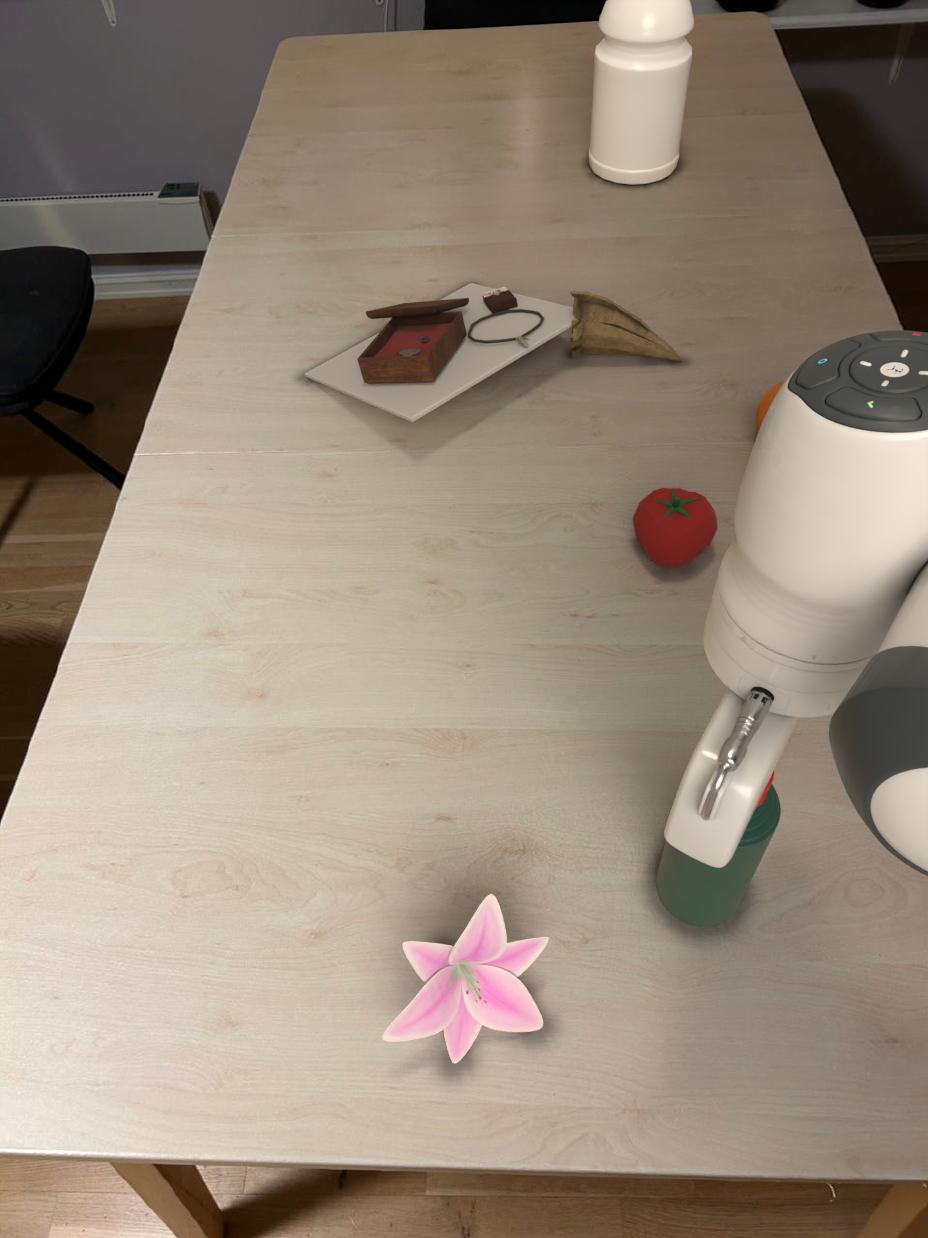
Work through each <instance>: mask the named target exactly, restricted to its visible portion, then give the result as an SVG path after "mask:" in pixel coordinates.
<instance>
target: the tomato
mask: <svg viewBox="0 0 928 1238" xmlns="http://www.w3.org/2000/svg"><path fill="white" fill-rule="evenodd" d="M632 524H633V529H634V536H635V537H636V539H637V541H638V542H639V544H640V546H641V547H642V548H643V550H644V552H645V553H646V554H647V556H648V557H649V559H650V561H652V562H653V563H655V564H657V565H659V566H661V567H670V568H679V567H682V566H686V565H688V564H689V563H691V562H692V561H694V560H695V559H697V557H698V556H699V555H700V554H701V553H703V552H704V551H705V550H707V548H708V547H710V545H711V543H712V542H713V540H714V538H715V535H716V533H717V531H718V518H717V513H716V510H715V508H714V506H713V505H712V503H711V502H710V501H709V499H708V498H707V497H706V496H705V495H704V494H701V493H699V492H697V491H688V490H686V489H684V488H681V487H662V488H661V487H660V488H658V489H654V490H652V491H651V492H650V493H648V494H647V495H646V496H645V497H644V498H643V499H642V500H641V501H639V503H638V506H637V508H636V509H635V512H634V514H633V517H632Z"/></svg>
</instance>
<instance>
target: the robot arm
mask: <svg viewBox="0 0 928 1238" xmlns="http://www.w3.org/2000/svg"><path fill="white" fill-rule="evenodd" d="M784 380H785V382H784V383H783V384H782V386H781V387H780V389H779V391H778V392H777V394H776V396H775V398H774V399H773V401H772V403H771V405H770V407H769V409H768V411H767V413H766V415H765V418H764V420H763V422H762V425H761V427H760V430H759V432H758V433H757V435H756V438H755V441H754V443H753V446H752V449H751V451H750V455H749V458H748V461H747V465H746V466H745V467H746V468H745V471H744V473H743V477H742V480H741V483H740V486H739V491H738V495H737V498H736V502H735V506H734V514H733V529H734V536H735V538H734V539H733V541H732V542H731V543H730V545H729V546H728V548H727V549H726V551H725V553H724V554H723V557H722V560H721V562H720V565H719V567H718V568H719V569H718V572H717V576H716V581H715V583H714V588H713V593H712V597H711V599H710V603H709V607H708V611H707V615H706V618H705V623H704V626H703V634H702V635H703V636H702V638H703V649H704V652H705V655H706V658H707V661H708V663H709V665H710V666H711V669H712V670H713V672H714V674H715V675H716V676H717V677H718V679H719V680H720V681H721V682H722V683H723V684H724V685H725V686H726V687H727V689H726V691H725V693H724V695H723V697H722V698H721V700H720V702H719V703H718V706H717V707H716V709H715V711H714V713H713V715H712V717H711V719H710V720H709V722H708V724H707V726H706V727H705V730H704V731H703V733H702V736H701V737H700V739H699V741H698V743H697V744H696V745H695V748H694V750H693V753H692V754H691V756H690V759H689V761H688V764H687V766H686V768H685V770H684V772H683V775H682V778H681V780H680V783H679V787H678V789H677V791H676V794H675V797H674V799H673V803H672V806H671V809H670V812H669V814H668V816H667V817H668V818H667V821H666V823H665V827H664V831H663V836H664V839H665V841H666V840H667V842H668V843H669V844H671V845H672V846H673V847H675V848H676V849H678V850H680V851H681V852H683V853H685V854H687V855H689V856H690V857H692V858H694V859H696V860H698V861H700V862H703V863H705V864H707V865H710V866H713V867H717V868H721V867H724V866H725V865H727V863H728V862H729V861H730V860H731V858H732V856H733V854H734V852H735V850H736V848H737V846H738V844H739V842H740V840H741V838H742V836H743V834H744V831H745V829H746V827H747V825H748V823H749V821H750V819H751V817H752V815H753V813H754V811H755V809H756V806H757V804H758V802H759V800H760V798H761V796H762V794H763V792H764V790H765V788H766V786H767V783H768V781H769V779H770V777H771V775H772V773H773V771H774V772H775V769H776V766H777V764H778V763H779V761H780V758H781V756H782V754H783V752H784V750H785V748H786V746H787V744H788V741H789V739H790V738H791V736H792V733H793V731H794V729H795V728H796V725H797V723H798V721H799V719H800V718H804V719H805V718H819V717H826V716H830V715H832V716H831V719H830V722H829V726H828V740H829V746H830V749H831V753H832V758H833V760H834V763H835V766H836V769H837V772H838V775H839V778H840V780H841V783H842V785H843V787H844V789H845V793H846V794H847V796H848V798H849V800H850V802H851V804H852V806H853V807H854V809H855V811H856V812H857V814H858V816H859V817H860V819H861V820H862V821H863V823H864V824H865V826H866V827H867V829H869V831H870V832H871V833H872V834H873V836H874V837H875V838H876V840H877V841H878V842H879V843H880V844H881V845H882V847H884V848H885V849H886V850H887V851H888V852H889V853H891V854H892V855H893V856H894V857H895V858H896V859H898V860H899V861H901V862H902V863H903V864H905V865H906V866H908V867H910V868H911V869H913V870H915V871H916V872H918V873H920V874H922V875H924V876H927V877H928V332H924V331H917V330H903V329H901V330H900V329H899V330H898V329H896V330H882V331H881V330H880V331H874V332H868V333H862V334H858V335H853V336H850V337H846V338H843V339H841V340H838V341H836V342H833V343H830V344H829V345H827V346H825V347H824V348H821V349H820V350H817V351H816V352H814V353H813V354H812V355H810V356H809V357H808V358H807V359H805V360H804V361H803V362H802V363H800V365H798V366H797V367H796V369H795V370H792V372H791V373H790V374H789V375H788V376H787V377H786V379H784Z"/></svg>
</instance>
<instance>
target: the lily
mask: <svg viewBox="0 0 928 1238" xmlns="http://www.w3.org/2000/svg"><path fill="white" fill-rule="evenodd" d="M549 940H550V938H549V937H548V936H538V937H531V938H526V939H521V940H514V941H510V942H508V935H507V930H506V925H505V920H504V915H503V913H502V908H501V906H500V903H499V901H498V899H497V897H496V896H495V895H494V894H493V893H490V894H488V895H487V896H486V897H484V899H483V900H482V902H481V903H480V904H479V906H478V908H477V909H476V911H475V912H474V914H472V917H471V919H470V921H469V922H468V924H467V925H466V927H465V929H464V930H463V932H462V933H461V934H460V936H459V938H458V939H457V940H456V942H455V944H454V945H450V944H446V943H445V944H444V943H437V942H429V941H416V940H407V941H404V942H402V949H403V952H404V955H405V957H406V958H407V960H408V962H409V964H410V965H411V967H412V969H413V970H414V971H415V973H416V974H417V976H418V977H419V978H420V979H421V981H422V982H423V983H424V985H423V987H422V988H420V990H419V991H418V992H417V993H416V995H415V996H414V997H413V998H412V1000H411V1001H410V1002H409V1003H408V1004H407V1006H406V1007H404V1009H403V1010H402V1011H401V1012H400V1013H399V1014H398V1015H397V1017H395V1018H394V1019H393V1021H392V1022H391V1023H389V1025H388V1026H387V1028H386V1029H385V1031H384V1032H383V1033H382V1036H381V1040H382V1041H384V1042H388V1043H398V1042H408V1041H414V1040H419V1039H424V1038H427V1037H430V1036H434V1035H437V1034H439V1033H440V1032H442V1031H443V1037H444V1042H445V1045H446V1049H447V1053H448V1055H449V1056H448V1057H449V1058H450V1061H451V1063H452V1064H455V1065H456V1064H457V1063H459V1062H461V1060H462V1059H463V1058H464V1057H465V1055H466V1054H467V1053H468V1051H469V1050H470V1048H471V1047H472V1045H473V1044H474V1042H475V1041H476V1039H477V1037H478V1035H479V1033H480V1031H481V1029H482V1027H485V1028H488V1029H491V1030H493V1031H499V1032H508V1033H529V1032H536V1031H539V1030H541V1029H542V1028H543V1027H544V1019H543V1015H542V1013H541V1012H540V1009H539V1007H538V1005H537V1003H536V1001H535V1000H534V999H533V997H532V995H531V993H530V992H529V990H528V989H527V987H526V986H525V984H524V983H523V982H522V981H521V980H520V979H519V978H518V977H520V976H521V975H522V974H523V973H524V972H525V971H526V970H527V969H528V968H530V966H531V965H532V964H533V963H535V961H536V960H537V958H538V957H539V956H540V955H541V953H542V952H543V951H544V949H545V948H546V946H547V945H548V944H549Z"/></svg>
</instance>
